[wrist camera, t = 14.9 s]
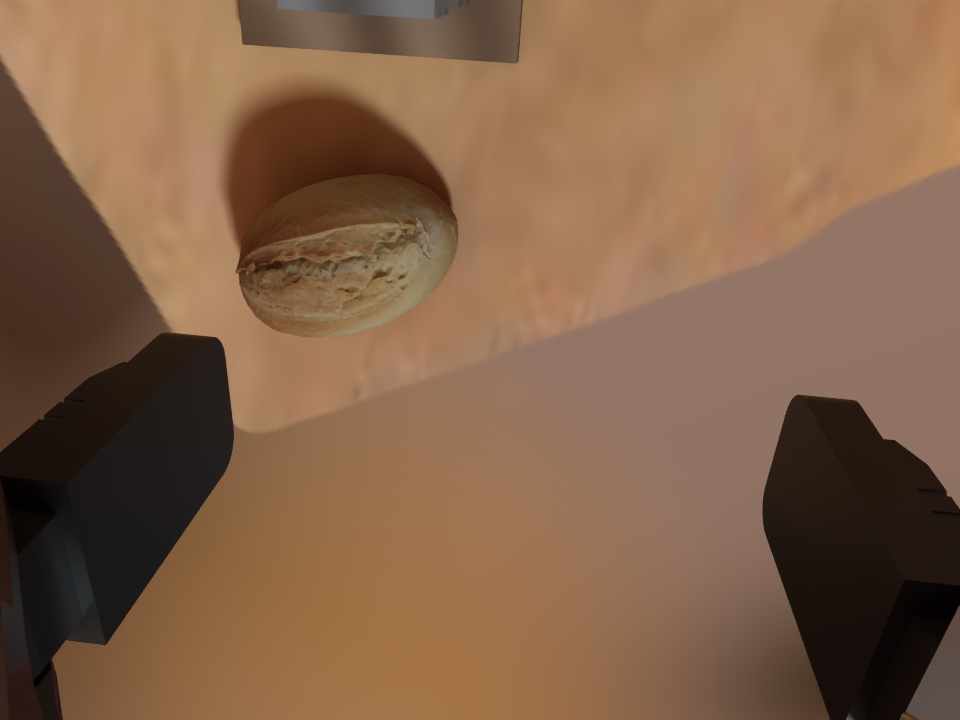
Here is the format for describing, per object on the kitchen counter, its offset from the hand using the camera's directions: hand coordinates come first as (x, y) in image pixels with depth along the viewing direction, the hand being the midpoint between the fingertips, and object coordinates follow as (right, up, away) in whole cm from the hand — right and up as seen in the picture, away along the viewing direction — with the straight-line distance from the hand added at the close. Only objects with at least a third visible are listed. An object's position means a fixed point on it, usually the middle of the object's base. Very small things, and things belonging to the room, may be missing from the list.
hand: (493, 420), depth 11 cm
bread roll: (-9, +9, +40) cm, 42 cm away
